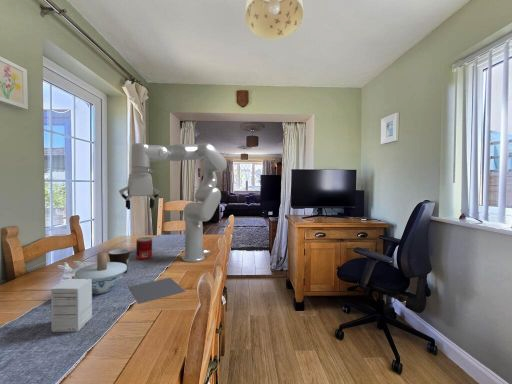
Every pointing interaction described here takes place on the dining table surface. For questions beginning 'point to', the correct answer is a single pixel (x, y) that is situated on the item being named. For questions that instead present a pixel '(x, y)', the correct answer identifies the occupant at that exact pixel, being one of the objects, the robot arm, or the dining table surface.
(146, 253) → the canned food
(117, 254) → the coffee mug
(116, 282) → the chinaware
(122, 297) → the dining table surface
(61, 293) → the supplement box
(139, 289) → the mat
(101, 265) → the lid
